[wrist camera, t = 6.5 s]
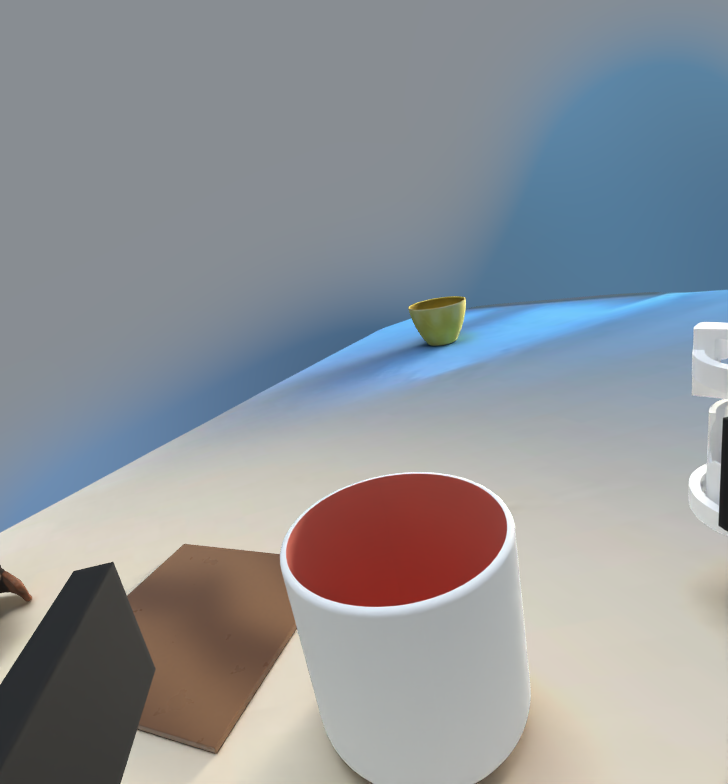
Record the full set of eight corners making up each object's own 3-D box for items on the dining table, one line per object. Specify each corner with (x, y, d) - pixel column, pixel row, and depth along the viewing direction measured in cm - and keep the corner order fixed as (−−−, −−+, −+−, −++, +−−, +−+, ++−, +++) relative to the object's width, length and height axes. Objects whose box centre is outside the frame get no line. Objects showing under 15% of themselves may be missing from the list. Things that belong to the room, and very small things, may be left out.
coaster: (216, 754, 24) (214, 748, 24) (26, 694, 30) (23, 689, 30) (337, 564, 36) (336, 560, 36) (185, 547, 42) (184, 543, 42)
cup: (321, 647, 29) (282, 496, 26) (487, 607, 30) (468, 455, 27) (332, 843, 20) (273, 642, 17) (575, 778, 21) (562, 574, 17)
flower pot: (412, 353, 88) (406, 312, 86) (415, 339, 97) (409, 302, 95) (471, 345, 86) (466, 303, 84) (468, 331, 95) (464, 293, 93)
